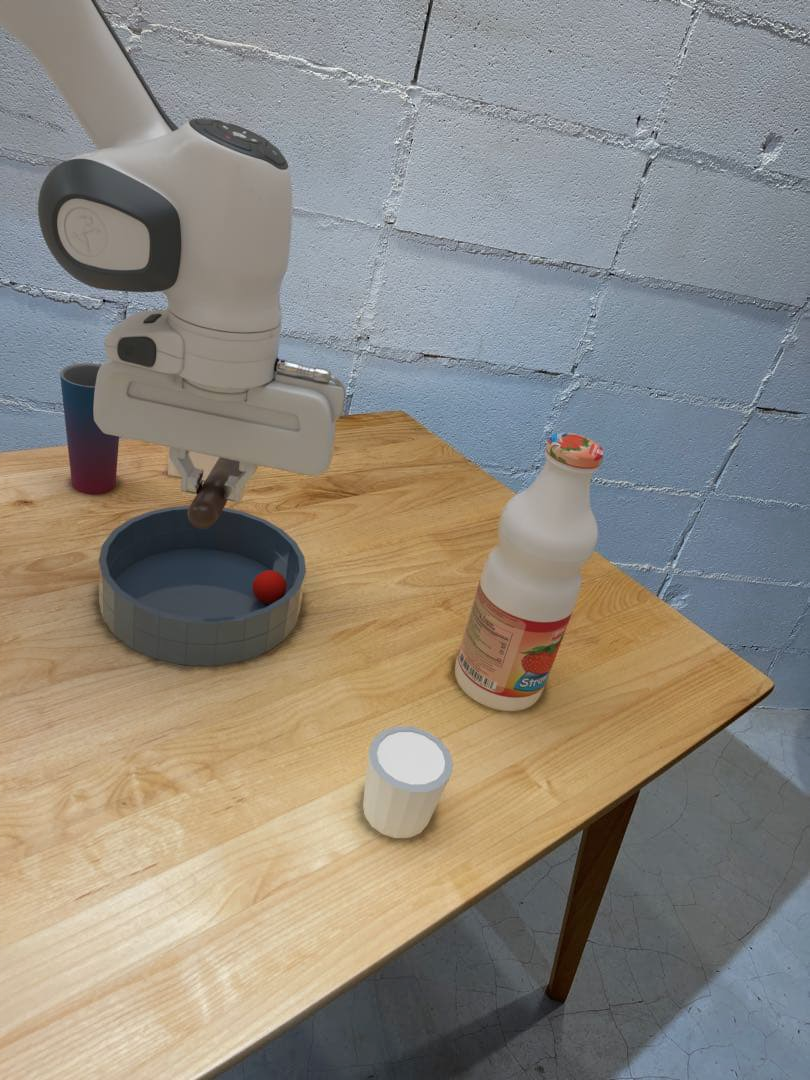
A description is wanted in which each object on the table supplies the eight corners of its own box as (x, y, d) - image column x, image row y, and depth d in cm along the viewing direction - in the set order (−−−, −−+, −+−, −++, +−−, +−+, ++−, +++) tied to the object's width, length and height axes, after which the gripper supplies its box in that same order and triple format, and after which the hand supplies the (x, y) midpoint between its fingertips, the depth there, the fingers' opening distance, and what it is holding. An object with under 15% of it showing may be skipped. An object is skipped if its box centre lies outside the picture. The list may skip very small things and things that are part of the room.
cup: (52, 491, 99) (47, 376, 91) (84, 468, 104) (82, 358, 96) (104, 507, 98) (103, 392, 90) (133, 483, 104) (134, 373, 96)
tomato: (242, 594, 86) (272, 593, 84) (251, 564, 87) (280, 563, 86) (259, 610, 88) (288, 609, 87) (266, 581, 90) (295, 579, 89)
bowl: (65, 646, 78) (63, 596, 74) (141, 534, 95) (142, 490, 92) (276, 688, 78) (283, 640, 75) (313, 570, 95) (320, 527, 92)
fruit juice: (466, 641, 90) (535, 410, 75) (548, 672, 88) (635, 441, 73) (441, 693, 82) (513, 447, 67) (530, 728, 80) (624, 483, 65)
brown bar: (214, 538, 71) (217, 512, 69) (180, 530, 70) (182, 505, 69) (250, 468, 82) (253, 445, 80) (221, 462, 82) (223, 438, 80)
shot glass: (338, 805, 68) (351, 748, 64) (396, 768, 73) (411, 712, 69) (394, 863, 64) (411, 806, 61) (451, 821, 69) (470, 764, 65)
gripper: (354, 361, 69) (331, 500, 76) (114, 310, 68) (114, 455, 75) (344, 388, 64) (320, 535, 71) (83, 333, 63) (86, 488, 70)
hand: (212, 494), depth 73 cm, fingers closed on brown bar, 2 cm apart
